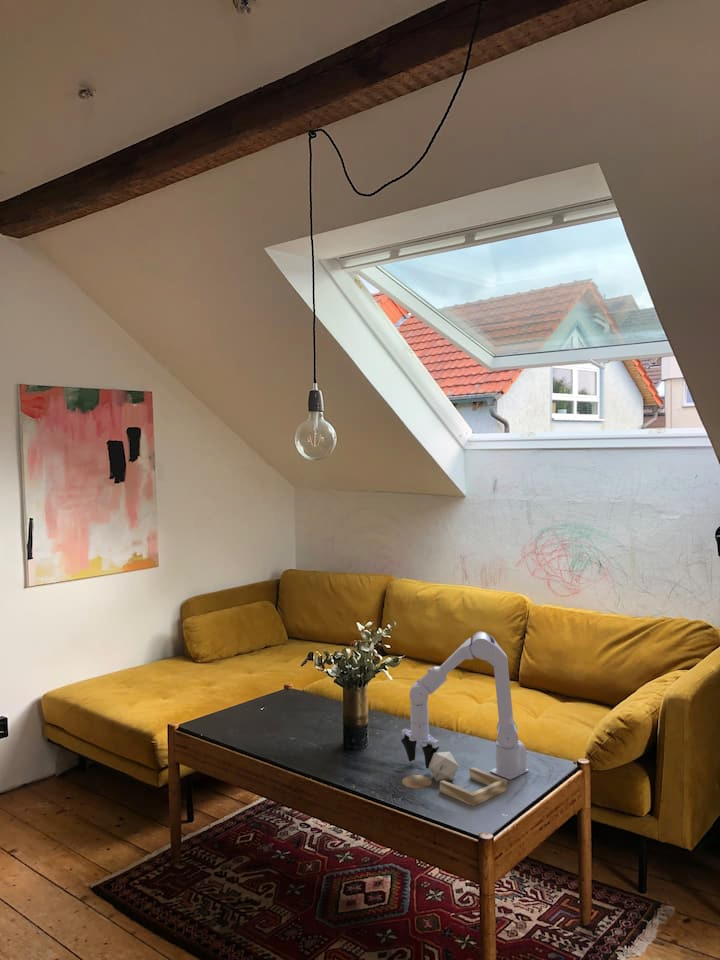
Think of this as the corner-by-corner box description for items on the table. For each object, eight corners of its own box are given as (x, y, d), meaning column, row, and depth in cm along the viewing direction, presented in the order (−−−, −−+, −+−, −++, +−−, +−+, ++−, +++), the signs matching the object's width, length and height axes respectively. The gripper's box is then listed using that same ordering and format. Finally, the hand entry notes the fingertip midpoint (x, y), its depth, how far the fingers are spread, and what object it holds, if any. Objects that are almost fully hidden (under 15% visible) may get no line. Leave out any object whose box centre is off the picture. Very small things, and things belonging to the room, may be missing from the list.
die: (423, 779, 240) (427, 762, 234) (434, 757, 246) (439, 740, 240) (447, 792, 238) (452, 775, 231) (458, 769, 244) (463, 753, 238)
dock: (473, 776, 240) (473, 767, 240) (507, 790, 230) (506, 780, 230) (439, 791, 230) (439, 781, 230) (473, 806, 220) (473, 795, 220)
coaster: (416, 774, 243) (416, 772, 243) (437, 783, 237) (437, 781, 237) (396, 782, 238) (396, 781, 238) (417, 792, 231) (417, 790, 231)
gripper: (394, 718, 249) (395, 760, 249) (427, 730, 238) (428, 774, 238) (410, 713, 253) (411, 754, 254) (443, 724, 242) (443, 767, 243)
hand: (420, 763), depth 246 cm, fingers open, 7 cm apart
